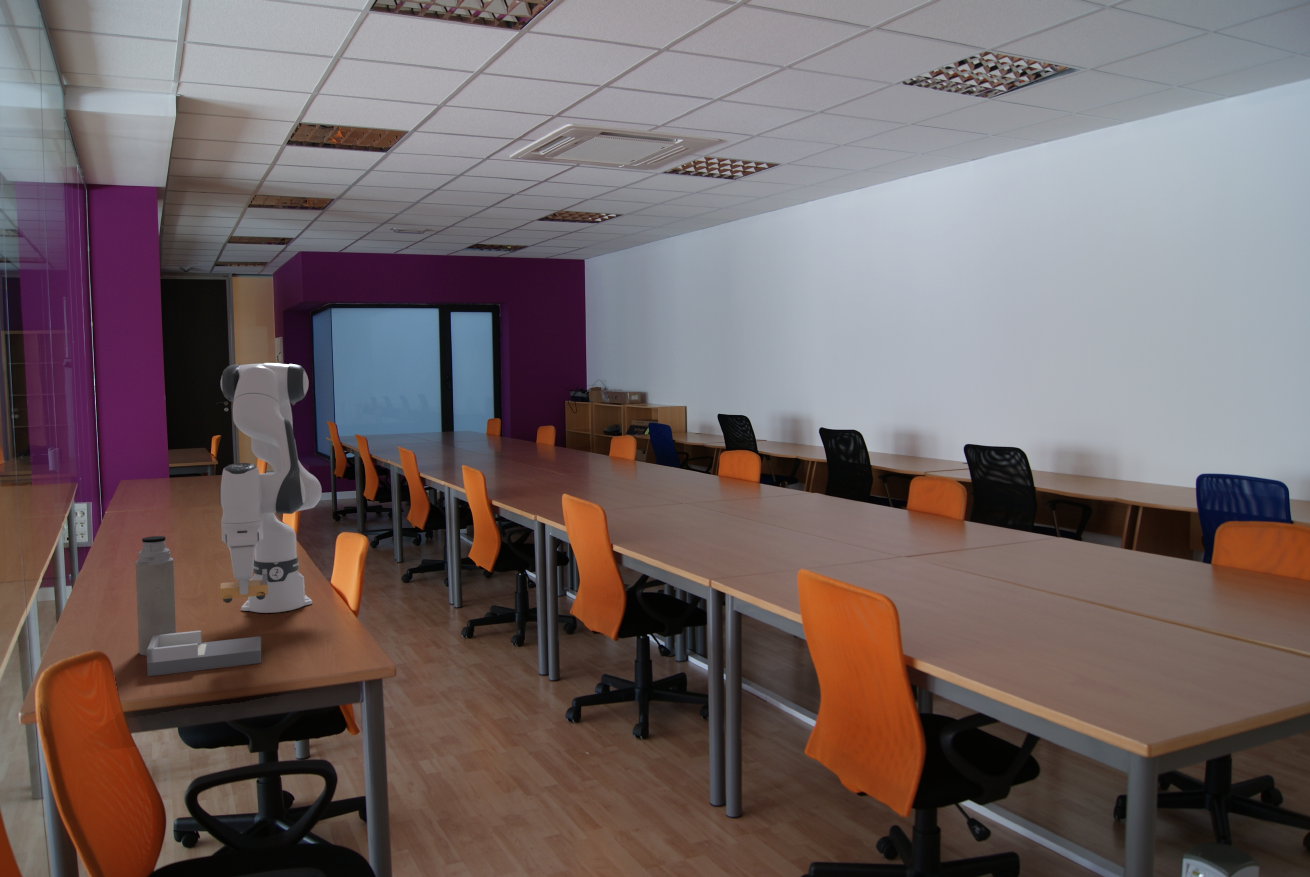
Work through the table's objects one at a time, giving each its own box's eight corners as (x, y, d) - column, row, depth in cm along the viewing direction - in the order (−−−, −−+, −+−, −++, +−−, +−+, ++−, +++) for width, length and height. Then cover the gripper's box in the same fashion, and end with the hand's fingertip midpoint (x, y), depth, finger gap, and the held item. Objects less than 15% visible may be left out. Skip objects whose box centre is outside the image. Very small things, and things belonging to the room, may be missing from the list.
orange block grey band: (221, 597, 206) (220, 572, 205) (267, 593, 210) (266, 568, 210) (220, 603, 200) (219, 577, 200) (267, 599, 205) (267, 573, 204)
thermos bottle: (150, 645, 215) (146, 534, 213) (182, 645, 215) (179, 534, 213) (132, 655, 207) (127, 540, 205) (165, 655, 207) (161, 540, 205)
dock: (154, 660, 204) (153, 635, 203) (261, 648, 213) (260, 624, 213) (147, 676, 193) (146, 649, 192) (261, 662, 202) (260, 637, 202)
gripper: (228, 526, 212) (230, 582, 213) (226, 540, 194) (228, 601, 195) (256, 524, 215) (258, 579, 216) (257, 538, 196) (259, 598, 197)
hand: (244, 590), depth 205 cm, fingers closed on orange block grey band, 6 cm apart
